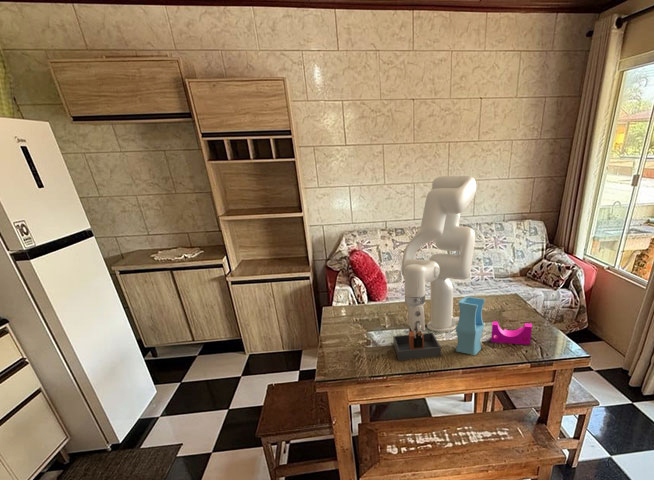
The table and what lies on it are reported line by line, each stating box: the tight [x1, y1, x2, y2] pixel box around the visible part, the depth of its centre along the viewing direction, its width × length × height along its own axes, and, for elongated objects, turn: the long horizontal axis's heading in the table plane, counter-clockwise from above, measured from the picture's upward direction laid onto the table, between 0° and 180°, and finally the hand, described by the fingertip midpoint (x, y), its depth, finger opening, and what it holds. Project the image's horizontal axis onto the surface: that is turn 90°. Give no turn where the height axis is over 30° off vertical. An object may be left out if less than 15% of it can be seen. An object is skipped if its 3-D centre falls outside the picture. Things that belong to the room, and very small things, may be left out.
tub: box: [392, 332, 442, 361], centre depth 158 cm, size 16×14×4 cm
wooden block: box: [408, 330, 424, 350], centre depth 157 cm, size 5×5×7 cm
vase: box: [455, 296, 486, 356], centre depth 153 cm, size 8×8×20 cm
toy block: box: [490, 320, 533, 346], centre depth 163 cm, size 15×6×8 cm, turn 76°
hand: (415, 342), depth 157 cm, fingers open, 9 cm apart
